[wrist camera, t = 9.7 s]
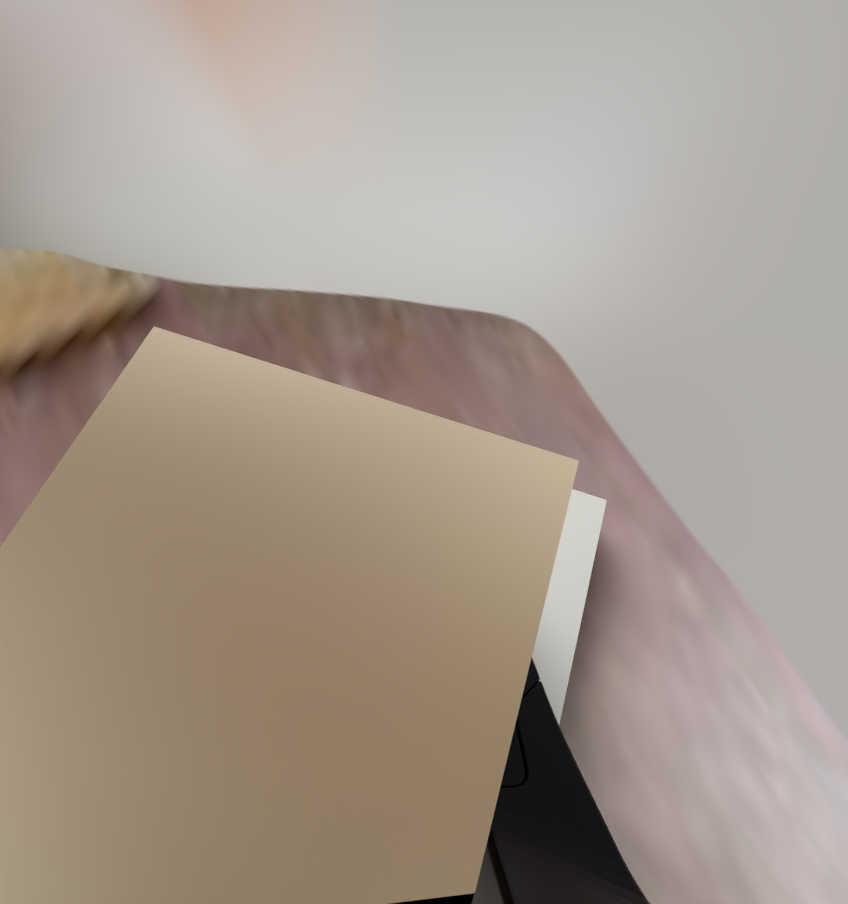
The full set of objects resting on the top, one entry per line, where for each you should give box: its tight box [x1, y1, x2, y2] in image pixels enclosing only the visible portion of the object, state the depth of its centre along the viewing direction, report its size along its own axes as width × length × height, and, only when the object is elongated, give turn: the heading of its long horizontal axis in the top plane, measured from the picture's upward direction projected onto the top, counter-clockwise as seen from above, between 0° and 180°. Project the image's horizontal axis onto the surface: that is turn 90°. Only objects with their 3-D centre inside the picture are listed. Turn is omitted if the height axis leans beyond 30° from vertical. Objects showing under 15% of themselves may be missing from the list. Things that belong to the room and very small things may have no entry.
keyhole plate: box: [532, 489, 607, 724], centre depth 14 cm, size 17×14×4 cm
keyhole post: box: [0, 327, 579, 904], centre depth 10 cm, size 6×6×15 cm
